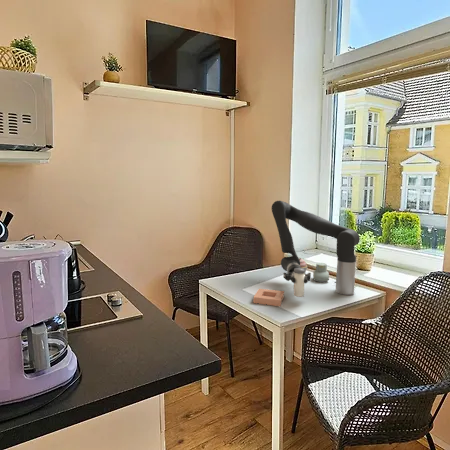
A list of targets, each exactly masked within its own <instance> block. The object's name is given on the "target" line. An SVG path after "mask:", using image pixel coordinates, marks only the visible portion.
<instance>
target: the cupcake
mask: <svg viewBox="0 0 450 450" xmlns="http://www.w3.org/2000/svg"><path fill="white" fill-rule="evenodd" d="M298 258H299V260H300V267H301V268H304V269H305V273H307V269H308V267H309V266H308V265H307V262H306V261H305V260H304V258H301V257H298Z"/></svg>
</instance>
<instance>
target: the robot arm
mask: <svg viewBox="0 0 450 450" xmlns="http://www.w3.org/2000/svg"><path fill="white" fill-rule="evenodd" d="M271 213H272V216H273V219H274V222H275V225H276V227H277V232H278V236H279V241H280V246H281V248H280V249H281V252H282V253H283V254H290V256H285V257H282V259H281V260H280V266H281V268H282V269H283V270H284V271H285V272H283V279H284V280H286V281H288V282H291V283H293V284H294V283H295V278H294V268H301V267H300V260H299V258H300V257H299V256H298V254H297V252H296V250H295V245H294V240H293V236H292V233H291V231H290V229H289V227H288V223H287V220H289V221H292V222H295V223H296V224H298V226H300V227H302V228H304V229H305V230H308V231H309V232H311V233H313V234H317V235H322V236H327V237H330V238H334V239H336V256H337V262H336V263H337V264H336V275H335V276H336V277H335V292H336V293H337V294H340V295H346V296H350V295H355V284H356V283H355V282H356V263H357V256H356V255H355V246H357V245H358V244H359V243H360V241H361V240H360V239H361V238H360V235H359V233H358V232H357V231H356V230H354V229H351V228H349V227H345V226H342V225H338V224H337V223H336V224H335V222H332V221H330V220H328V219H326V218H324V217H321V216H319V215H316V214H315V213H311V212H308V211H304V210H300V209H299V208H296V207H294V206H293V205H291V204H289V203H288V202H286V201H283V200H275V201H274V202H273V203H272V205H271ZM311 275H312V273H311V272H308V273H307V272H306V273H305V276H304V284H307V283H308V282H310V281H311V277H312V276H311Z"/></svg>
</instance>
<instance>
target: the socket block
mask: <svg viewBox="0 0 450 450" xmlns="http://www.w3.org/2000/svg"><path fill="white" fill-rule="evenodd" d="M284 298H285V290H276V289H267V288H266V289H265V288H258V289H257V291H256V292H255V294H254V296H253V304H257V303H259V304H258V305H266V304H267V306H275V307H281V305H282V302H283V300H284Z"/></svg>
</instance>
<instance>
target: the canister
mask: <svg viewBox="0 0 450 450" xmlns="http://www.w3.org/2000/svg"><path fill="white" fill-rule="evenodd" d="M305 274H306V272H305V269H304V268H294V278H295V283H293V296H294V297H297V298H302V297H305V296H304V295H305V283H304V276H305Z"/></svg>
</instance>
